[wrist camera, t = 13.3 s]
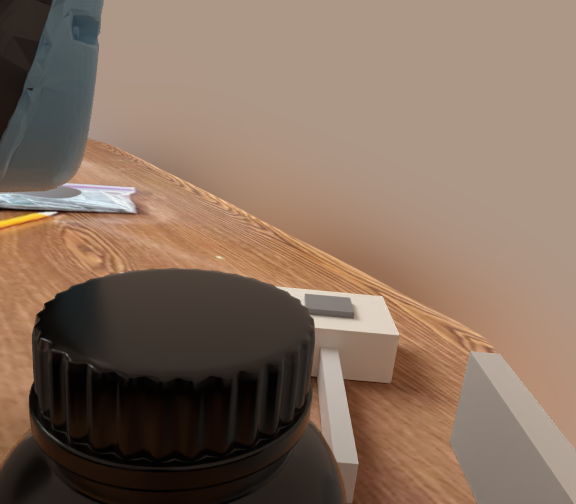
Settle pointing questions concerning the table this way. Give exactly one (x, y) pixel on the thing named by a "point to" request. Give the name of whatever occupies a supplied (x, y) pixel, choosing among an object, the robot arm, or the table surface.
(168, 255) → the table surface
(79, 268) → the table surface
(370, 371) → the power strip dock
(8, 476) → the supplement bottle
